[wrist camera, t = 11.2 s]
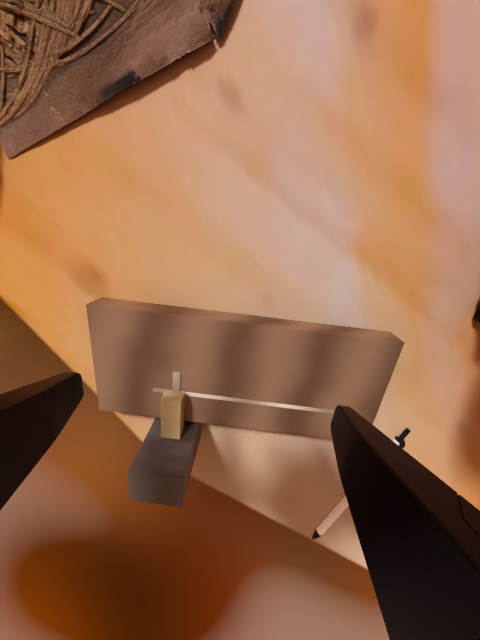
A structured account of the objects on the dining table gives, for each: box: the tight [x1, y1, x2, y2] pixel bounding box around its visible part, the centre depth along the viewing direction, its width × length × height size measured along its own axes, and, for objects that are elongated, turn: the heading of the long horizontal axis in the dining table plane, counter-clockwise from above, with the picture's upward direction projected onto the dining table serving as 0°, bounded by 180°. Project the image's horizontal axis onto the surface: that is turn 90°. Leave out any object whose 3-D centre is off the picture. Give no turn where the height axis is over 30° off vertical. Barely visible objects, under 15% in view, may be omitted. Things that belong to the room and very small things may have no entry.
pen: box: [312, 428, 410, 539], centre depth 26 cm, size 1×19×1 cm, turn 158°
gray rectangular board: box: [86, 298, 404, 439], centre depth 21 cm, size 24×10×2 cm, turn 84°
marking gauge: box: [128, 390, 201, 507], centre depth 20 cm, size 4×7×7 cm, turn 174°
